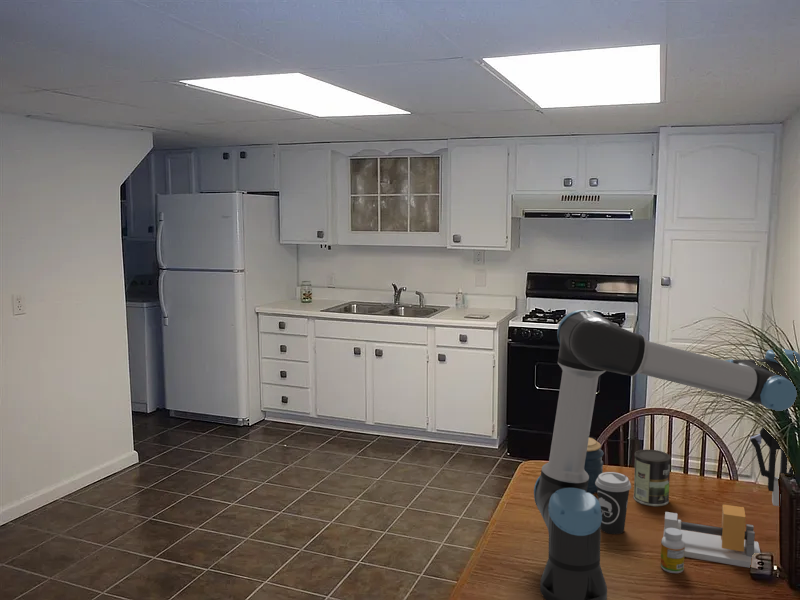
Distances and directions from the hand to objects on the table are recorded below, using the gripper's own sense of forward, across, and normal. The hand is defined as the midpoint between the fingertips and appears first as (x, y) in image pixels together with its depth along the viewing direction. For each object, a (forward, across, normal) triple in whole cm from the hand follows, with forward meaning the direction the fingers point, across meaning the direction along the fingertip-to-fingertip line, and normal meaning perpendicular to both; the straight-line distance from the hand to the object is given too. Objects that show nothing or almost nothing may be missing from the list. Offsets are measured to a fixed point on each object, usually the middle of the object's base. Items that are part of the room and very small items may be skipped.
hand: (775, 503), depth 171 cm
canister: (+15, +52, -29) cm, 61 cm away
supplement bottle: (+15, +24, +13) cm, 31 cm away
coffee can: (+15, +30, -27) cm, 43 cm away
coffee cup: (+15, +40, -3) cm, 42 cm away
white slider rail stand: (+15, +14, 0) cm, 21 cm away
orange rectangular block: (+12, +9, 0) cm, 16 cm away
